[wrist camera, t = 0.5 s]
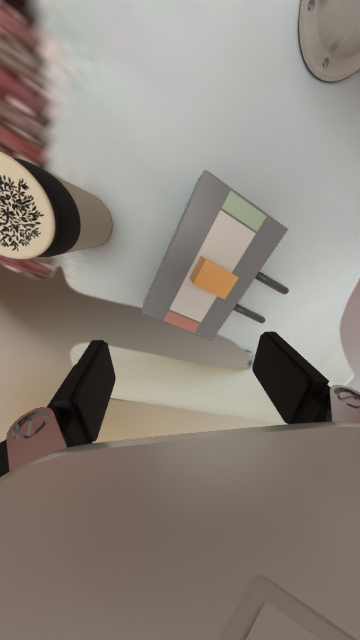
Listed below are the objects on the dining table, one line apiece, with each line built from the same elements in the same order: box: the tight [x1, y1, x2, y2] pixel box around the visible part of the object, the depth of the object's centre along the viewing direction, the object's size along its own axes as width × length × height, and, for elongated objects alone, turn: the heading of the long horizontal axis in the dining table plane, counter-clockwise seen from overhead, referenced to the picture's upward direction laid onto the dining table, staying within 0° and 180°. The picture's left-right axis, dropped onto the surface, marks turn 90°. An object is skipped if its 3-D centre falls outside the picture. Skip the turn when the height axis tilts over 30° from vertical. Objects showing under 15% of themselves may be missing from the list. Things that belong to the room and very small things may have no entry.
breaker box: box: [141, 170, 289, 341], centre depth 34 cm, size 24×27×5 cm
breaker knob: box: [189, 256, 239, 300], centre depth 28 cm, size 4×6×4 cm, turn 63°
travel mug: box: [0, 152, 112, 259], centre depth 21 cm, size 8×8×18 cm
